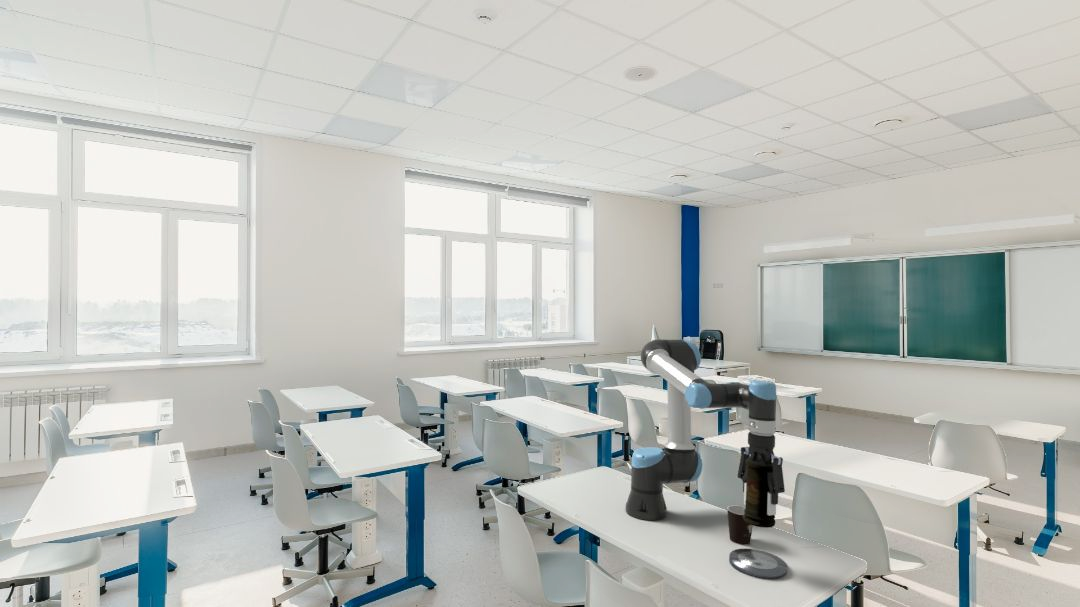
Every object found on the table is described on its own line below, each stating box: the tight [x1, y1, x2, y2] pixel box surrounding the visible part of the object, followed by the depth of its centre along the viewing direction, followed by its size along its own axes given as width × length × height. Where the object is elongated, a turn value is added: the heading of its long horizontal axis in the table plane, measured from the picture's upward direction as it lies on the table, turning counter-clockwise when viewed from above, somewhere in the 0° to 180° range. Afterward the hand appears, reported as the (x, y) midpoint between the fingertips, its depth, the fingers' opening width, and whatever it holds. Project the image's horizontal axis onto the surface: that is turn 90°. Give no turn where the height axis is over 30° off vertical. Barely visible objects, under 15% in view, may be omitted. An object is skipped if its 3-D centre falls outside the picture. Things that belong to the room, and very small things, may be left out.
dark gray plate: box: [728, 548, 788, 580], centre depth 156 cm, size 16×16×2 cm
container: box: [743, 458, 776, 529], centre depth 157 cm, size 9×9×18 cm
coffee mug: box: [726, 504, 754, 546], centre depth 174 cm, size 12×9×10 cm
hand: (759, 509), depth 157 cm, fingers closed on container, 8 cm apart
